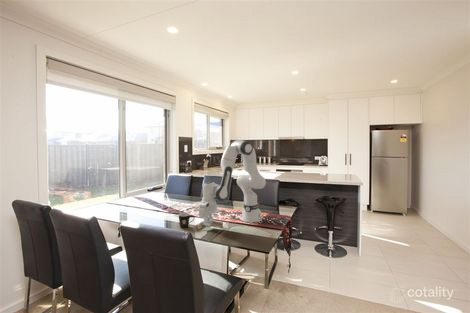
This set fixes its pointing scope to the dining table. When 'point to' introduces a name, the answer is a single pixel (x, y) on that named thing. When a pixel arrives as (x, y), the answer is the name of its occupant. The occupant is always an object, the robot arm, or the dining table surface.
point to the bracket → (208, 221)
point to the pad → (207, 228)
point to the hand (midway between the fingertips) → (208, 219)
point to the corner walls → (215, 223)
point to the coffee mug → (184, 220)
